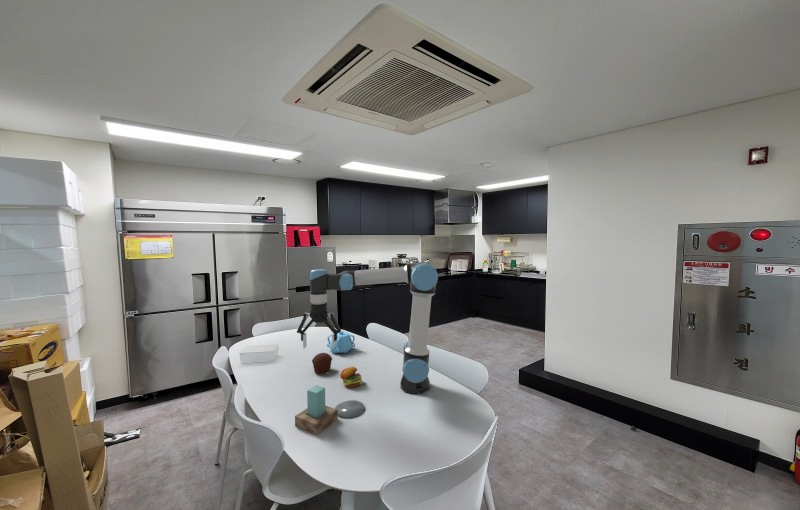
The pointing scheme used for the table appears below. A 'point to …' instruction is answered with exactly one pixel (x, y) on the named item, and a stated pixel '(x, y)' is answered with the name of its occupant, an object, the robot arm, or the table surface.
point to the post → (316, 401)
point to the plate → (350, 409)
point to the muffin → (322, 363)
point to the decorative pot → (342, 343)
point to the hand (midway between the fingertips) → (319, 347)
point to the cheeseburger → (351, 377)
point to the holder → (316, 420)
